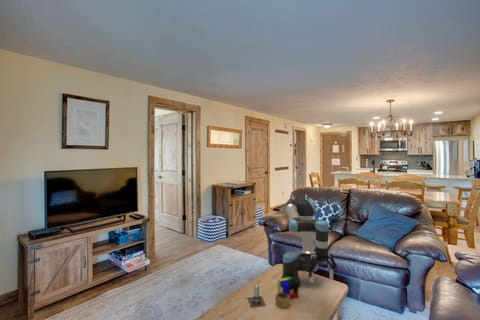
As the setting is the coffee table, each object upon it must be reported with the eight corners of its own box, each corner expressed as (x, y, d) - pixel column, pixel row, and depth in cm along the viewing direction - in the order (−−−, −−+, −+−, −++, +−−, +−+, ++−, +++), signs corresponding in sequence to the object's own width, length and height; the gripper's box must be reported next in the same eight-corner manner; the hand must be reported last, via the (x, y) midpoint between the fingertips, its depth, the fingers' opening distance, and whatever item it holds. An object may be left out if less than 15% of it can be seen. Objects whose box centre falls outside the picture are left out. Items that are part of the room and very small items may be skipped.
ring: (274, 301, 169) (274, 293, 169) (285, 300, 170) (285, 291, 170) (278, 309, 161) (278, 299, 161) (290, 307, 162) (290, 298, 162)
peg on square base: (247, 298, 172) (247, 282, 172) (261, 297, 174) (261, 280, 174) (251, 307, 163) (251, 290, 162) (265, 305, 164) (265, 288, 164)
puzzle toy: (285, 300, 171) (285, 286, 170) (277, 292, 180) (277, 279, 180) (297, 297, 174) (297, 283, 174) (289, 289, 184) (289, 276, 183)
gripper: (306, 251, 146) (306, 286, 146) (343, 246, 151) (343, 280, 152) (300, 246, 153) (300, 279, 154) (335, 242, 159) (335, 274, 160)
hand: (321, 280), depth 153 cm, fingers open, 13 cm apart
